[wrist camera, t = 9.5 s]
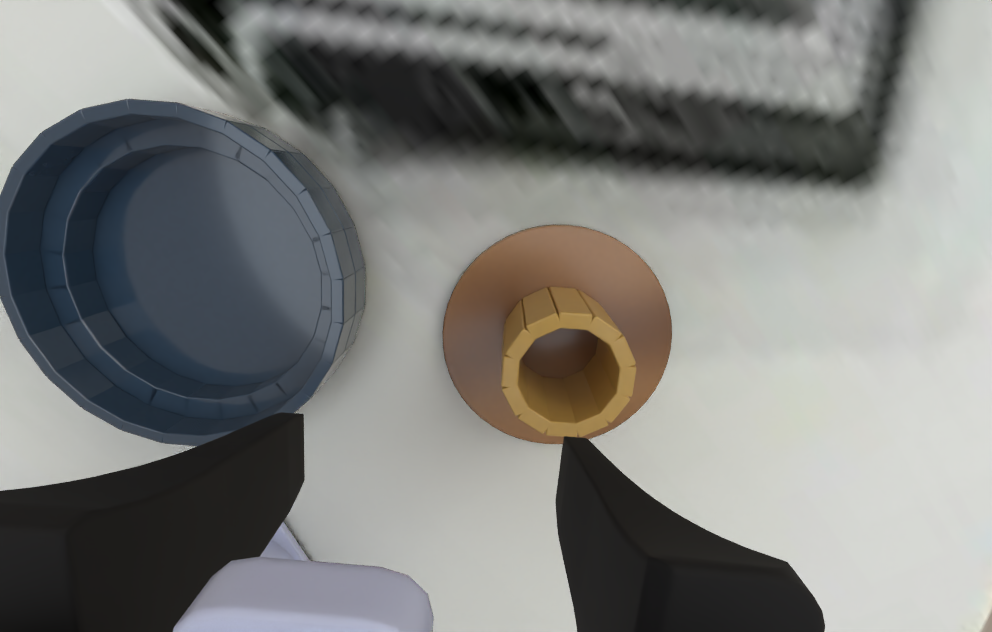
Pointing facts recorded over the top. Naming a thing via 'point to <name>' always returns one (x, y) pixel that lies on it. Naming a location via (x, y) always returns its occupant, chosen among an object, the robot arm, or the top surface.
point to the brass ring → (578, 396)
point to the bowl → (177, 268)
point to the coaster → (563, 352)
